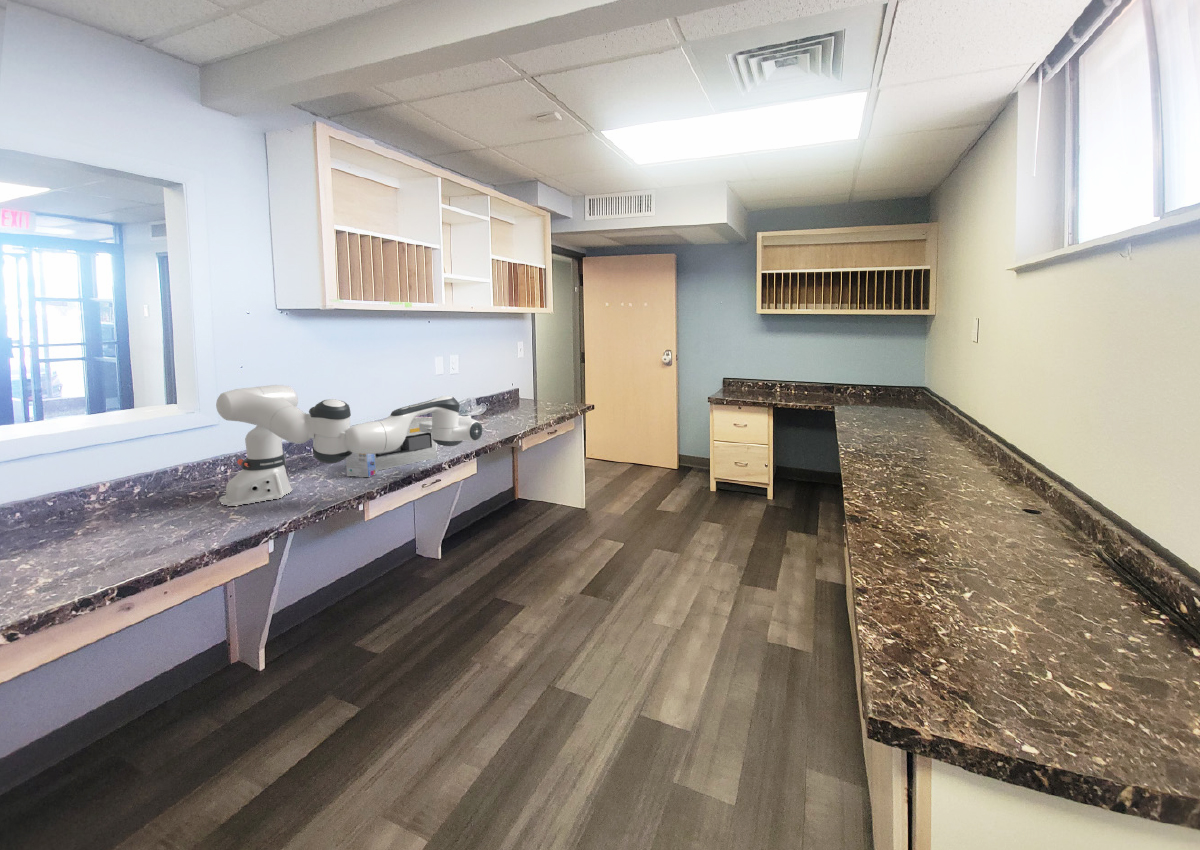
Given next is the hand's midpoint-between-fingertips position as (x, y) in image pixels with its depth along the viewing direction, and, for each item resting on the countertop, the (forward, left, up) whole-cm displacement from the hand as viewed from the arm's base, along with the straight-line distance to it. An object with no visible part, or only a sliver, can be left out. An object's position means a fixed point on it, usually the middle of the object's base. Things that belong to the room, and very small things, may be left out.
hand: (434, 421), depth 235 cm
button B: (0, +15, -13) cm, 20 cm away
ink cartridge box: (-26, +13, -20) cm, 36 cm away
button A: (-12, +19, -13) cm, 26 cm away
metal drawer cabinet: (-6, +19, -20) cm, 28 cm away
